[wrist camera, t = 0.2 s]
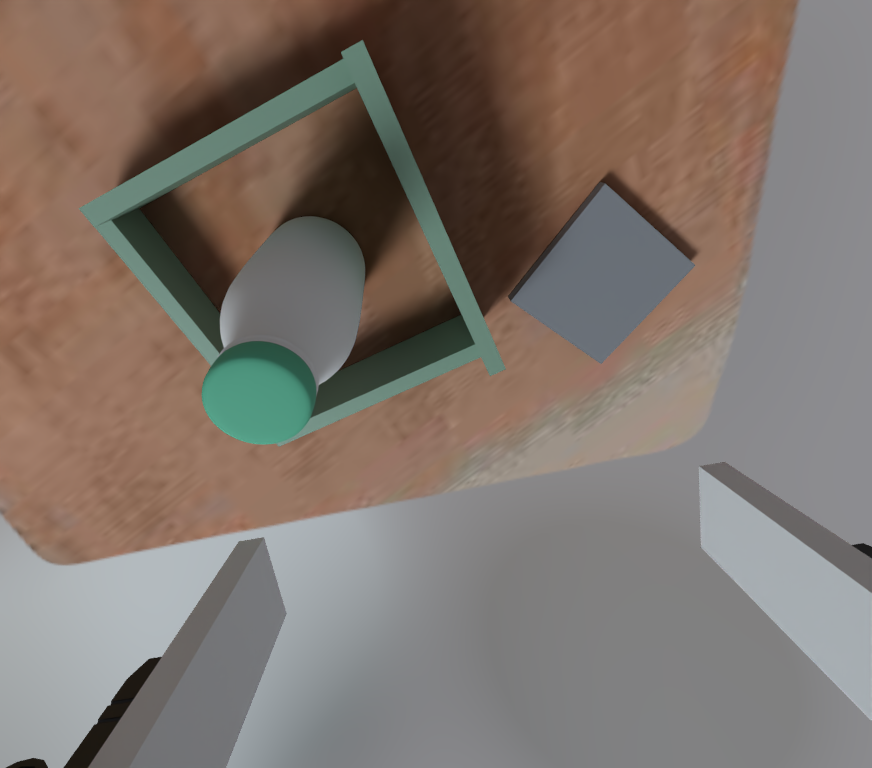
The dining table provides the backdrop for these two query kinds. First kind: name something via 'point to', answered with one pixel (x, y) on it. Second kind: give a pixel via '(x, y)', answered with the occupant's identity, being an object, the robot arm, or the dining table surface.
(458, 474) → the dining table surface
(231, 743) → the robot arm
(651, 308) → the slate tile
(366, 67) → the green wooden frame
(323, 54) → the dining table surface
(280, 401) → the milk bottle
